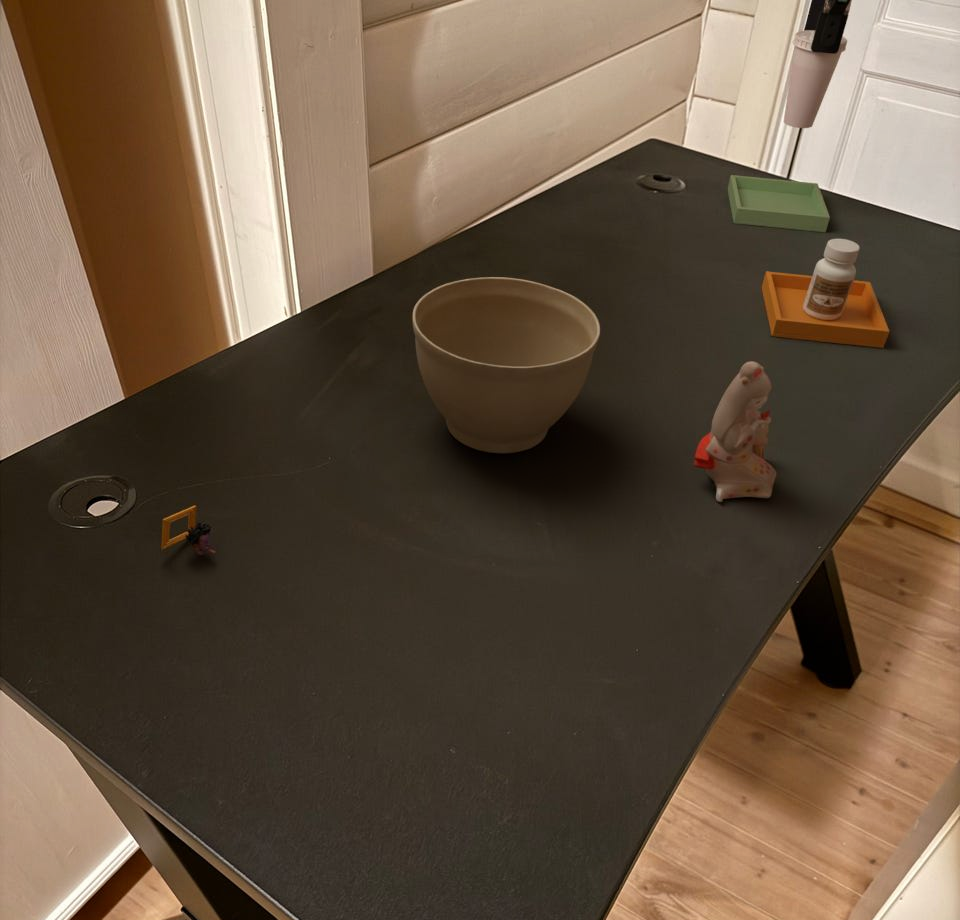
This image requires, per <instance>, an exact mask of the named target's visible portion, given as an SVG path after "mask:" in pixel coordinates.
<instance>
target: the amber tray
mask: <svg viewBox="0 0 960 920" xmlns="http://www.w3.org/2000/svg"><path fill="white" fill-rule="evenodd" d="M812 276H813V275H805V274H798V273H797V274H796V273H788V272H787V273H786V272H777V271H768V270H766V271H765V274H764V277H763V281H762V284H761V291H762V296H763V301H764V306H765V311H766V315H767V316H766V317H767V320H768V324H769V325H768V326H769V331H770V334H771V337H774V338H775V337H776V338H782V339H783V338H784V339H795V340H804V341H813V342H814V341H815V342H821V343H830V344H831V343H832V344H842V345H851V346H859V347H870V348H878V349H883V348H884V347H885V344H886V342H887V339H888V336H889V335H890V329H889V327H888V323H887V321H886V319H885V315H884V313H883V311H882V309H881V306H880V304H879V301H878V299H877V295H876V293H875V291H874V289H873V285H872V283H871V282H870V281H865V280H857V279H856V280H855V279H854V281H853V283H852V286H851V289H850V292H849V295H848V298H847V301H846V304H845V306H844V309H843V312H842V314H841V316H840V317H839V318H837V319H834V320H821V319H816V318H814V317H811V316H809V315H808V314H807V313H806V312H805V311H804V309H803V304H804V301H805V298H806V295H807V292H808V289H809V285H810V282H811V279H812Z"/></svg>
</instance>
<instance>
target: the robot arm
mask: <svg viewBox="0 0 960 920" xmlns="http://www.w3.org/2000/svg"><path fill="white" fill-rule="evenodd" d="M852 2H853V0H811V1H810V4H809V5H810V6H809V9H808V13H807V17H806V20H805V24H804V29H803V31H805V30H815V34H814V37H813V41H812V45H811V50H812V51H813V52H820V53H831V54H836V53H837V52H838V50H839V47H840V43H841V40H842V36H843V37H844V32H845V29H846V26H847V23H848V18H849V13H850V10H851V5H852Z"/></svg>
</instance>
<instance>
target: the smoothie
mask: <svg viewBox="0 0 960 920" xmlns="http://www.w3.org/2000/svg"><path fill="white" fill-rule="evenodd" d="M814 34H815V30H805V31H804V30H800V31H797V32H795V34H794V38H793V40H792V44H793V46H794V49H793V55H792V62H791V69H790V77H789V83H788V89H787V96H786V101H785V103H786V104H785V111H784V116H783V123H784V125H787V126H789V127H791V128H797V129H810V128H812V127H813V126H814V124H815V123H814V122H815V120H816V119H817V115H818V112H819V111H820V108H821V105H822V103H823V100H824V98H825V95H826V94H827V91H828V88H829V87H830V83H831V80H832V78H833V75H834V73H835V70H836V68H837V66H838V63H839V60H840V59H841V55H842V53H844V52H845V51H846V49H847V48H846V47H847V45H848V39H847V38H846V37H844V35H843V36H842V40H841V43H840V47H839V50H838V52H837V53H836V54H831V53H820V52H813V51H812V50H811V45H812V41H813V37H814Z"/></svg>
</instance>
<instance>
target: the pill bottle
mask: <svg viewBox="0 0 960 920" xmlns="http://www.w3.org/2000/svg"><path fill="white" fill-rule="evenodd" d="M859 252H860V245H859V244H858V243H856V242H855V241H853V240H850V239H845V238H832V239H829V240H828V241H827V243H826V246H825V249H824V252H823V257H824V258H821V259H819V260H818V261H817V262H816V264H815V267H814V270H813V273H812V275H811V276H812V279H811V282H810V285H809V289H808V292H807V295H806V298H805V301H804V304H803V309H804V311H805V312H806V313H807V314H808V315H809V316H811V317H814V318H816V319H821V320H834V319H837V318H839V317H840V316H841V314H842V312H843V309H844V306H845V304H846V301H847V298H848V295H849V292H850V289H851V286H852V283H853V281H854V280H855V278H856V275H857V268H856V266H855V265H854V263H856V261H857V258H858V255H859Z"/></svg>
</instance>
